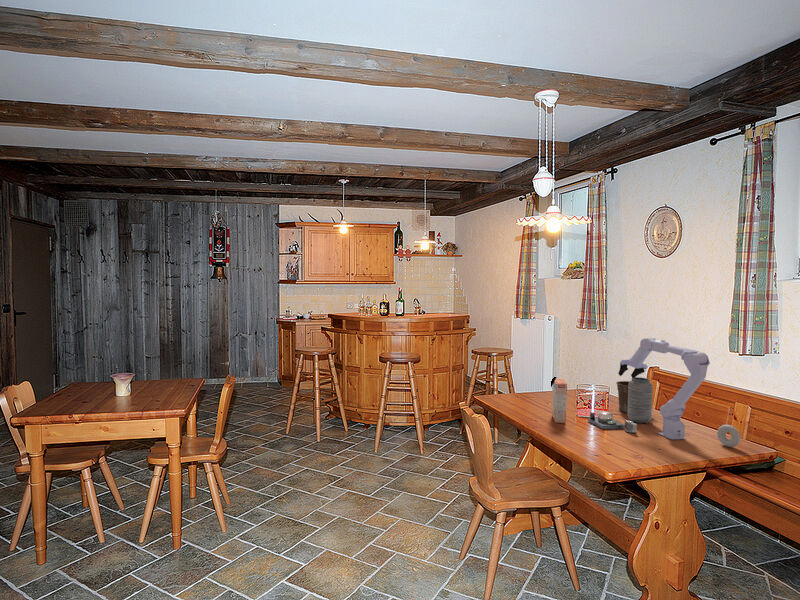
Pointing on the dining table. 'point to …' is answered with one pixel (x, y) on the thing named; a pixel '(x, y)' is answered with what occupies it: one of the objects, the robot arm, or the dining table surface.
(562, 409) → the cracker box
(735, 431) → the donut
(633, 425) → the wing knob
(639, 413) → the vase
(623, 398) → the plant pot
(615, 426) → the levelling base
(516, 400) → the dining table surface
